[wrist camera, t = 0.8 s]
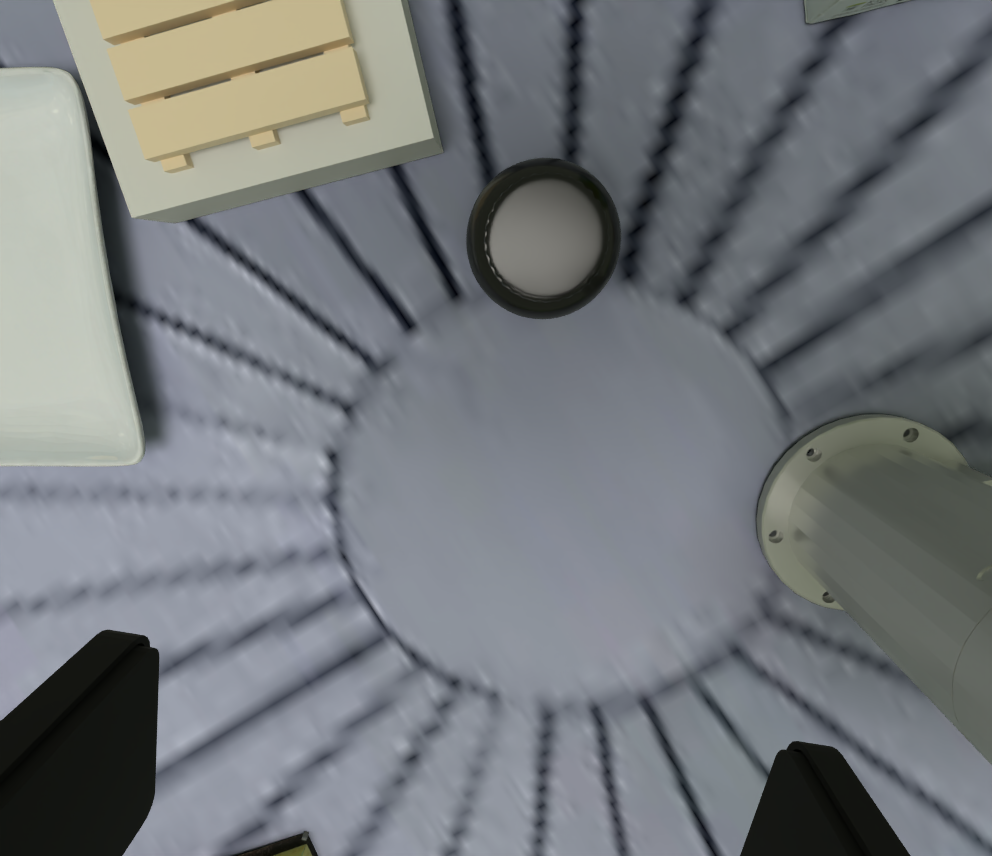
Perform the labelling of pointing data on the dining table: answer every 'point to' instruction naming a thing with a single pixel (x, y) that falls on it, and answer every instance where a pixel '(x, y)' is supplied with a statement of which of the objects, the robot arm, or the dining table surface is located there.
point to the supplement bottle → (543, 238)
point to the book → (287, 847)
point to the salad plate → (57, 288)
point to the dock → (300, 139)
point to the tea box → (840, 8)
